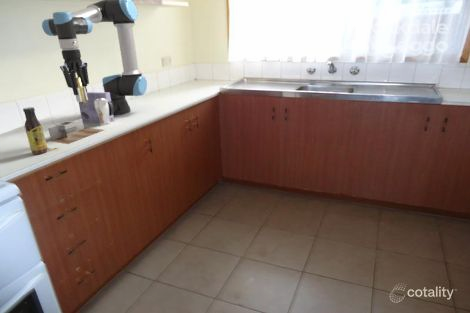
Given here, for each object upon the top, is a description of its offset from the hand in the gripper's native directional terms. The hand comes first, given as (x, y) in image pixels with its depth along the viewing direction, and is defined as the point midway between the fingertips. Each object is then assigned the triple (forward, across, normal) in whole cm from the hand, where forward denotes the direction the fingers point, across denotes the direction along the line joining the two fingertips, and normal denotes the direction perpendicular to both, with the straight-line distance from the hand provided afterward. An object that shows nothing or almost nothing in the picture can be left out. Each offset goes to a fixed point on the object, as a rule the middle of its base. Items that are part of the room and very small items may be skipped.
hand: (82, 100), depth 155 cm
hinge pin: (+1, 0, 0) cm, 1 cm away
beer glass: (+18, +16, +6) cm, 25 cm away
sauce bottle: (+18, -24, +4) cm, 31 cm away
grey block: (+16, -2, +9) cm, 19 cm away
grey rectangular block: (+16, -8, +9) cm, 20 cm away
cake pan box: (+18, +20, +15) cm, 31 cm away
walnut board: (+18, -4, +5) cm, 19 cm away
